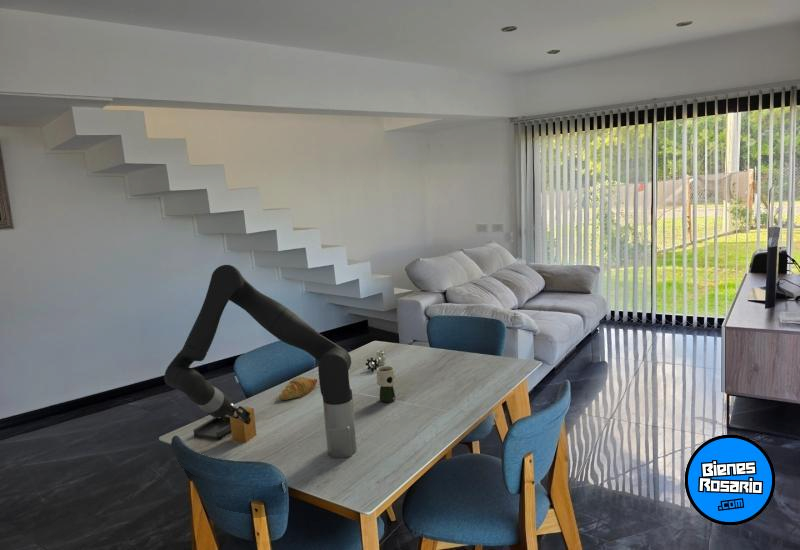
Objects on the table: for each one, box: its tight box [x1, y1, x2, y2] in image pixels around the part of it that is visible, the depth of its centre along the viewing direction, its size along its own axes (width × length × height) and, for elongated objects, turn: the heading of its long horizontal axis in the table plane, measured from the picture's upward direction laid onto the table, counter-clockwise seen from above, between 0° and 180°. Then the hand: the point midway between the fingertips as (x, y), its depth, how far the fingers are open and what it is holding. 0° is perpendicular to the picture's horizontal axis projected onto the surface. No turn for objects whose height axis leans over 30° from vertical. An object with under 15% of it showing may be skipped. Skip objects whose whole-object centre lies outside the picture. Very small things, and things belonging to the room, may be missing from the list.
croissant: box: [277, 377, 318, 401], centre depth 229 cm, size 21×10×8 cm, turn 145°
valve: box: [365, 350, 386, 372], centre depth 257 cm, size 7×7×12 cm
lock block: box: [230, 406, 257, 444], centre depth 188 cm, size 6×6×10 cm
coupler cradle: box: [193, 402, 235, 441], centre depth 197 cm, size 15×11×7 cm
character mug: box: [376, 365, 396, 403], centre depth 214 cm, size 11×7×13 cm, turn 147°
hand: (238, 420), depth 186 cm, fingers open, 8 cm apart
